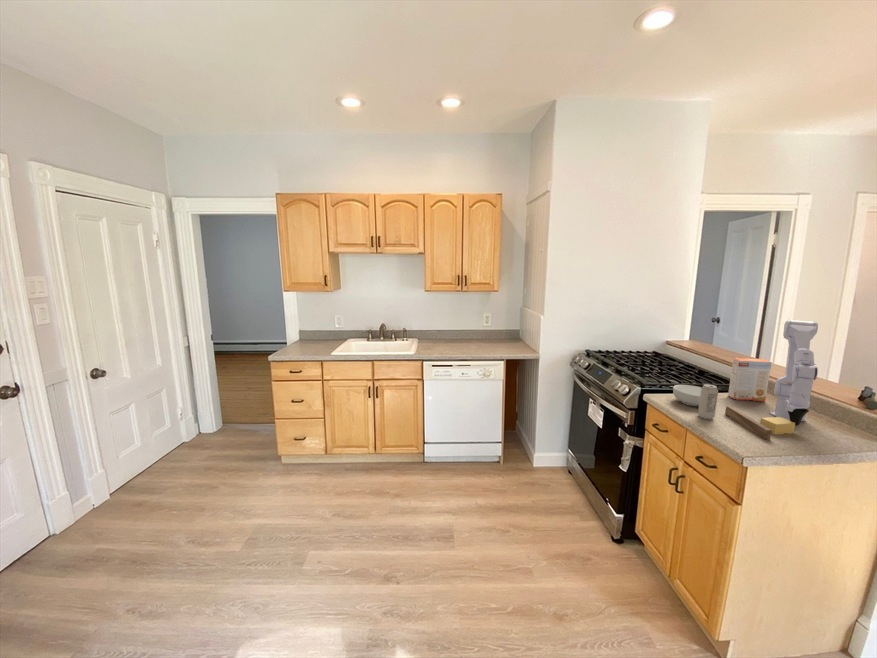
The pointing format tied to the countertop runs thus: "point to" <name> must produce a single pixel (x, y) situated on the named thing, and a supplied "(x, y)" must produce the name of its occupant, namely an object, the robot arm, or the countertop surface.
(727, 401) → the countertop surface
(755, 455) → the countertop surface
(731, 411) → the walnut board
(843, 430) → the countertop surface
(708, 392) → the energy drink can
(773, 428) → the ochre block
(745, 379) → the cracker box
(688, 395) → the cereal bowl
